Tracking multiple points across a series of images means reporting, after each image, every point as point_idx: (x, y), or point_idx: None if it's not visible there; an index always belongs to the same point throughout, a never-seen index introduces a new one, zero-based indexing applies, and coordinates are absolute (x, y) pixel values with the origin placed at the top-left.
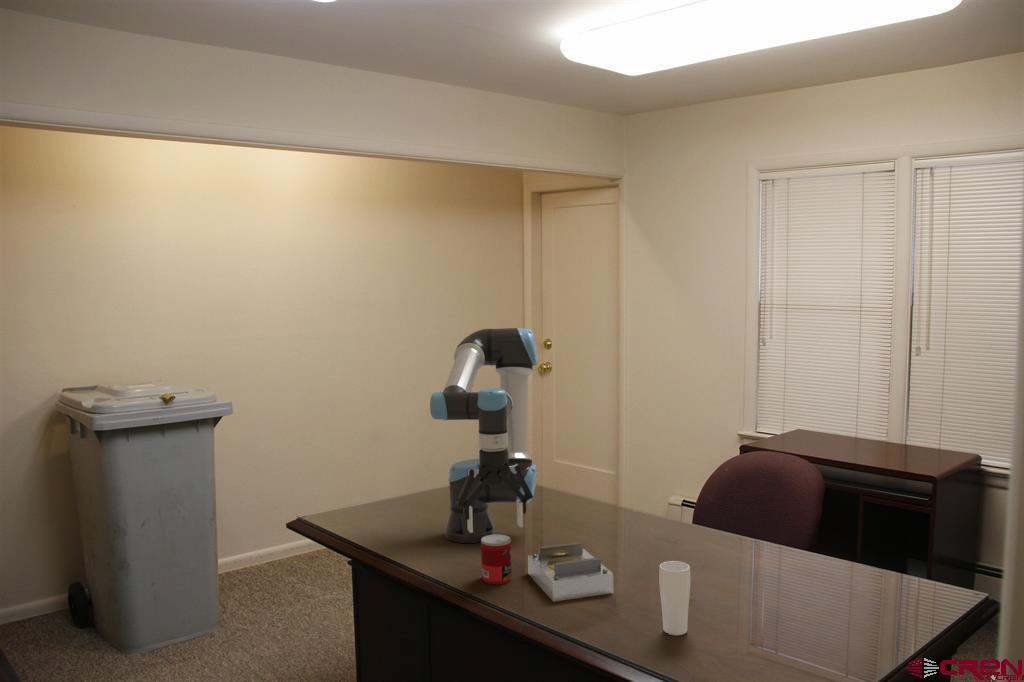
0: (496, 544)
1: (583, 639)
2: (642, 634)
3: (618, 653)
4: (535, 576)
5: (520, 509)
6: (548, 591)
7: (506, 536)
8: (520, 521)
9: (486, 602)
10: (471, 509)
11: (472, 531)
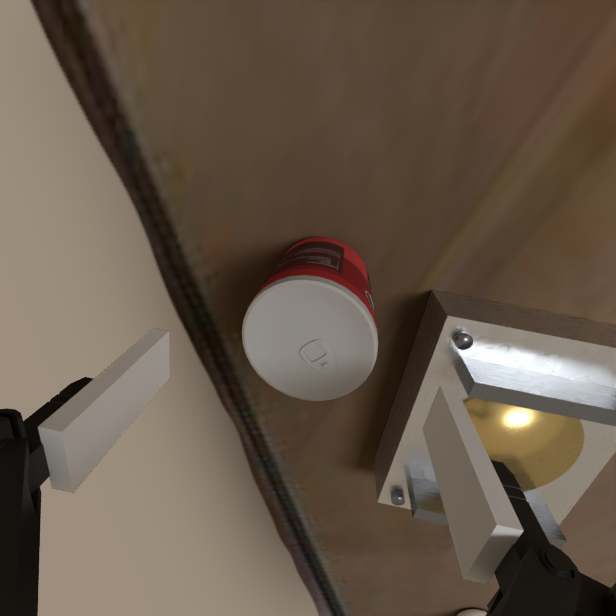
0: (285, 391)
1: (330, 570)
2: (422, 600)
3: (349, 610)
4: (413, 362)
5: (452, 523)
6: (383, 445)
7: (370, 340)
8: (430, 453)
9: (238, 391)
10: (76, 480)
11: (164, 380)
